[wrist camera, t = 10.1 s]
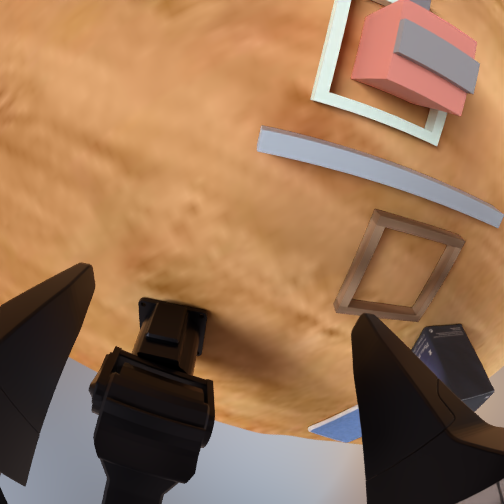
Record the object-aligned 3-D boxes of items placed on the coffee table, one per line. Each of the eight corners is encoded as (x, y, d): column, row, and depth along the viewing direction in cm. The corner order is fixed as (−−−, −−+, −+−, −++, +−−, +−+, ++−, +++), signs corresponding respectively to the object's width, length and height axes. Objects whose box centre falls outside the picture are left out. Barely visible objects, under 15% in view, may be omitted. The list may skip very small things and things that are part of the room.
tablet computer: (414, 367, 33) (417, 374, 32) (438, 390, 38) (440, 396, 37) (304, 424, 41) (305, 431, 40) (345, 438, 45) (346, 444, 44)
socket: (428, 142, 18) (437, 146, 17) (310, 99, 17) (313, 100, 16) (457, 23, 13) (466, 22, 12) (342, -33, 12) (346, -39, 11)
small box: (421, 325, 28) (456, 402, 19) (462, 321, 28) (498, 389, 19) (388, 380, 34) (408, 448, 25) (426, 375, 34) (449, 436, 25)
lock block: (412, 103, 17) (467, 118, 11) (350, 78, 16) (391, 78, 11) (426, 45, 14) (483, 42, 9) (365, 16, 14) (409, -5, 8)
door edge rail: (486, 218, 21) (498, 228, 19) (256, 144, 19) (256, 151, 17) (492, 205, 20) (504, 214, 19) (261, 125, 18) (262, 129, 17)
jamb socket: (414, 313, 27) (418, 321, 26) (333, 303, 26) (335, 312, 25) (458, 234, 22) (465, 241, 21) (374, 208, 21) (380, 215, 20)
